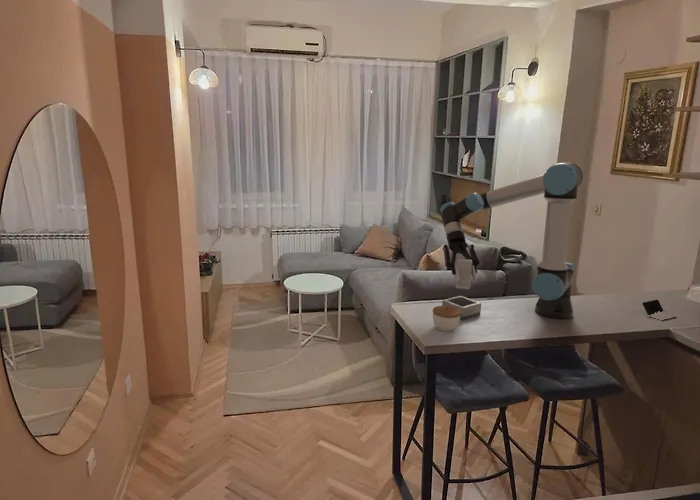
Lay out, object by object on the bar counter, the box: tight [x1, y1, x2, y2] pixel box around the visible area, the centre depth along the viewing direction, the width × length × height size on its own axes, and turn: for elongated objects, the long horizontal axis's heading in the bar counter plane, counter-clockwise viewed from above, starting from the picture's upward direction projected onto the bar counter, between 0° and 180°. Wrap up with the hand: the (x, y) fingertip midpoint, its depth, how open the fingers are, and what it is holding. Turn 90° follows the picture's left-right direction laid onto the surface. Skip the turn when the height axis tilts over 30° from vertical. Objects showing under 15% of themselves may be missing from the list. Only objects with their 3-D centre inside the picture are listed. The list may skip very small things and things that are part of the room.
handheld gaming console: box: [642, 299, 664, 316], centre depth 204 cm, size 12×7×10 cm
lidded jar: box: [432, 305, 461, 333], centre depth 182 cm, size 11×11×9 cm
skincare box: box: [455, 258, 472, 290], centre depth 196 cm, size 6×4×12 cm
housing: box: [441, 295, 482, 321], centre depth 199 cm, size 11×11×6 cm
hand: (466, 280), depth 193 cm, fingers closed on skincare box, 7 cm apart
